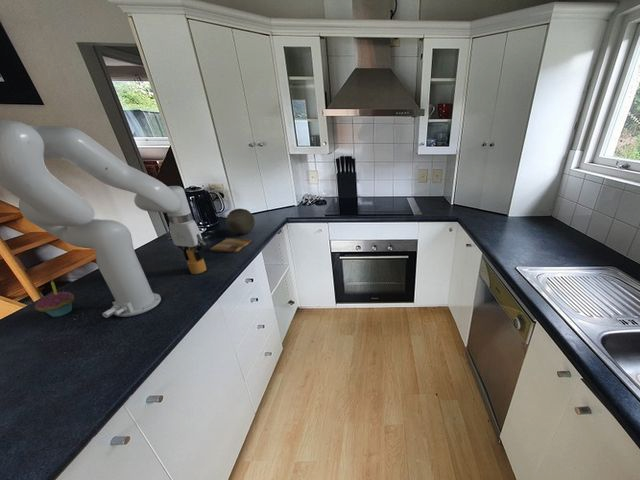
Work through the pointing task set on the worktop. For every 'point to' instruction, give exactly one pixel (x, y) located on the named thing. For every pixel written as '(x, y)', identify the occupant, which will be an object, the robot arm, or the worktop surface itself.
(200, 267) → the squash
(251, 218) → the cantaloupe
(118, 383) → the worktop surface
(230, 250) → the board
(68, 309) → the cupcake
